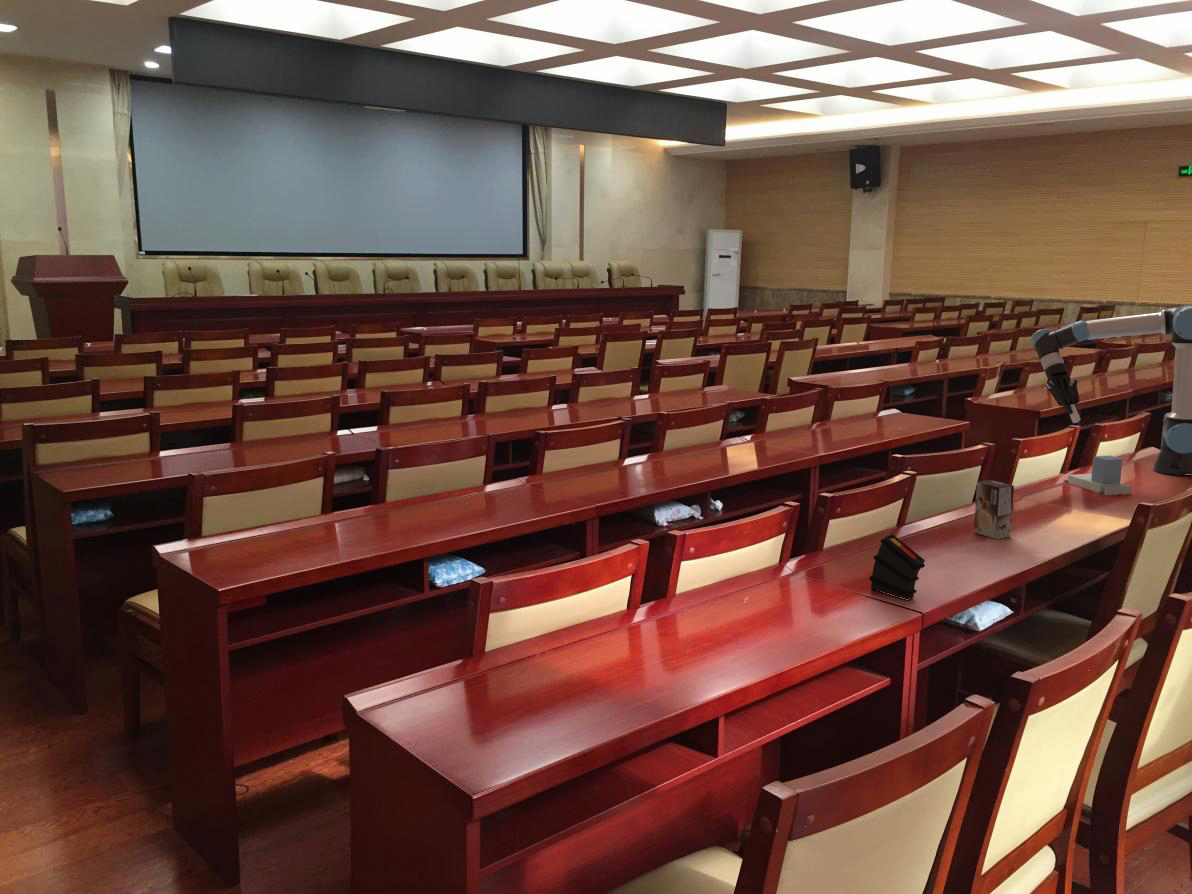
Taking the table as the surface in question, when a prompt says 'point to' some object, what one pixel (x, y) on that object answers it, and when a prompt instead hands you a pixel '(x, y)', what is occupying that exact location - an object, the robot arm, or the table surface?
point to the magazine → (896, 568)
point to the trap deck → (1098, 485)
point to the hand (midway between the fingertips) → (1076, 421)
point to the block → (1106, 469)
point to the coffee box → (993, 509)
